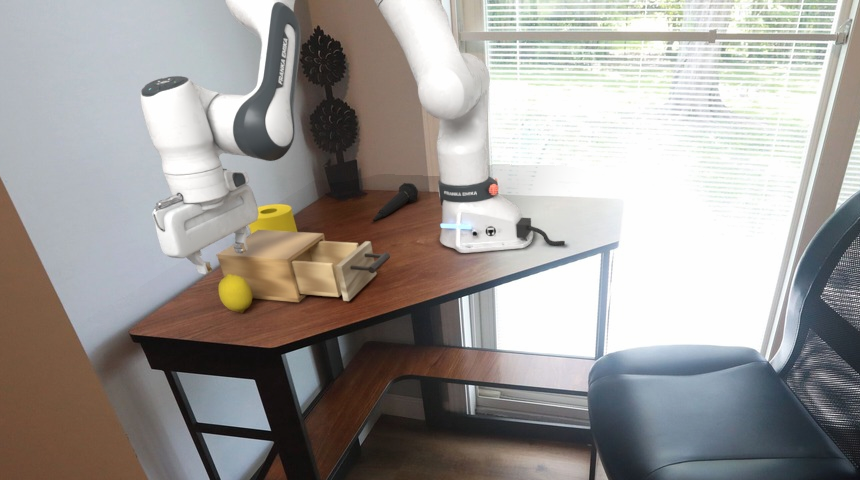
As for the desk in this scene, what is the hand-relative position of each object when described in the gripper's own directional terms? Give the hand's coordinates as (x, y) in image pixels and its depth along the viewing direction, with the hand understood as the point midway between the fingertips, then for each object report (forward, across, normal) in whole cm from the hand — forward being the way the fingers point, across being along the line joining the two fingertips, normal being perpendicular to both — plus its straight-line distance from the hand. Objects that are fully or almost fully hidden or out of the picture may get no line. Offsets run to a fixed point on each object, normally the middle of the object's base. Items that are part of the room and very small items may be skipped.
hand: (224, 261), depth 103 cm
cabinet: (+10, +13, 0) cm, 16 cm away
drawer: (+10, +13, -14) cm, 22 cm away
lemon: (+11, 0, 0) cm, 11 cm away
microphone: (+11, +61, -2) cm, 62 cm away
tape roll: (+11, +29, +13) cm, 34 cm away
